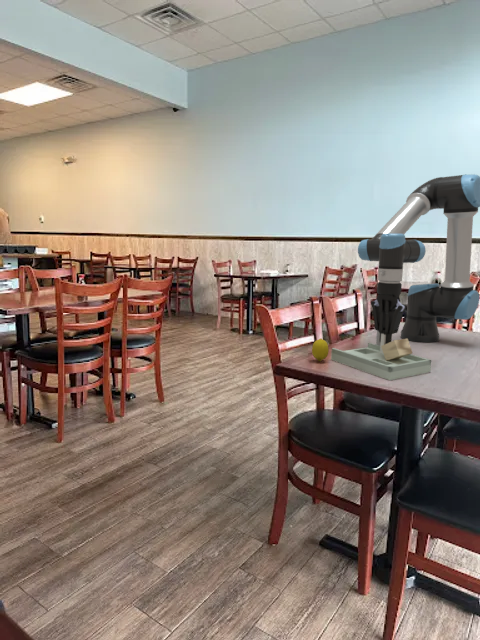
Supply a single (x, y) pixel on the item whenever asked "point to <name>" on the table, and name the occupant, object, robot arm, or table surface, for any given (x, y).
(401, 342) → the maple block
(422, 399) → the table surface
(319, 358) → the lemon
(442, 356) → the table surface
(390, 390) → the table surface
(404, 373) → the sage tray
